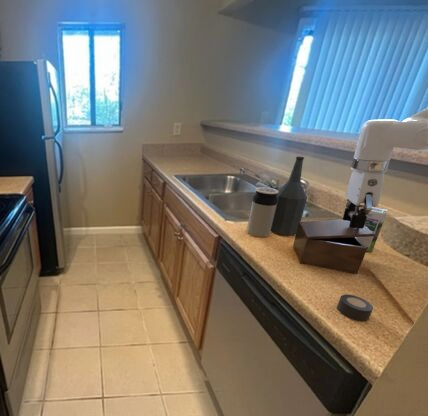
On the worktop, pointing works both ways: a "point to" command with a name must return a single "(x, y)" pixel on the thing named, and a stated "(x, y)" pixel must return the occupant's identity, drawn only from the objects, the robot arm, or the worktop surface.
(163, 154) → the worktop surface
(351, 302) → the tape
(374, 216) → the syrup box
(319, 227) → the lid
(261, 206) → the travel mug
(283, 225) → the bottle
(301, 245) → the bin
